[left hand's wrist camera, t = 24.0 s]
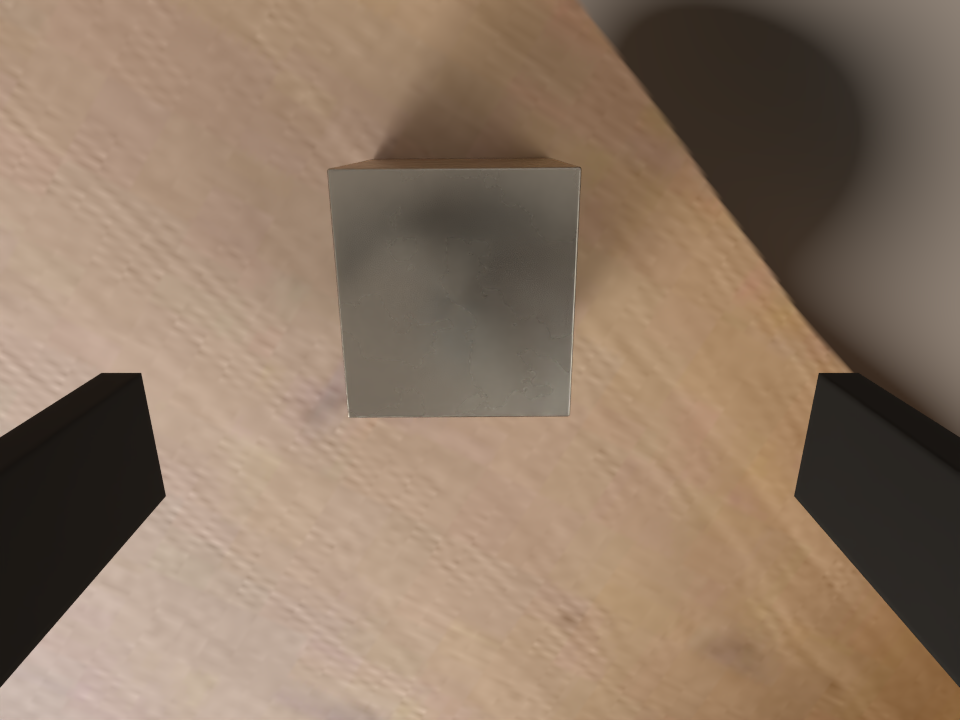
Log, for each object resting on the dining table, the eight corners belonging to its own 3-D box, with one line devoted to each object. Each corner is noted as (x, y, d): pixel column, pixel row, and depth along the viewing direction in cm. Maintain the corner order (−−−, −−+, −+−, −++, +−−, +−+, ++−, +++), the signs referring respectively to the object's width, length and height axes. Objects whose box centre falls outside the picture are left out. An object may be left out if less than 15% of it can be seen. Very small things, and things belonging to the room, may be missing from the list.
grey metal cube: (551, 158, 28) (581, 166, 20) (546, 342, 31) (570, 416, 23) (371, 159, 28) (326, 168, 20) (382, 343, 31) (348, 418, 23)
